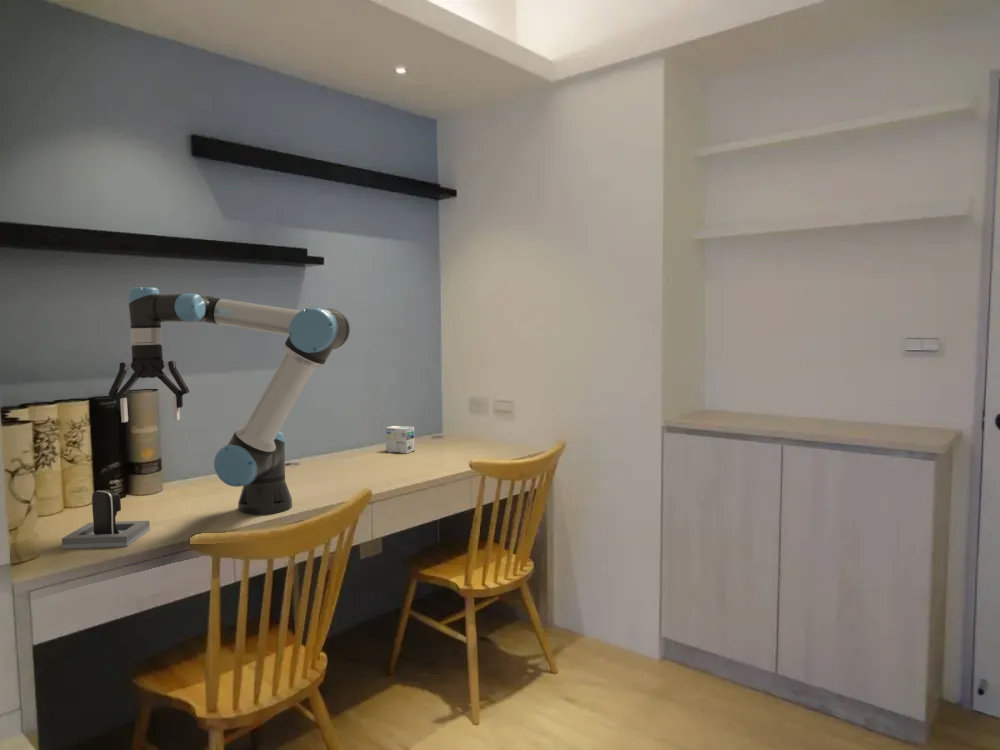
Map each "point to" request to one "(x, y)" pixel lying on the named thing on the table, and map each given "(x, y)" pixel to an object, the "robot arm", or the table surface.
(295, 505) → the table surface
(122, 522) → the dock
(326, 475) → the table surface
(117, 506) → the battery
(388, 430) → the light bulb box
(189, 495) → the table surface
